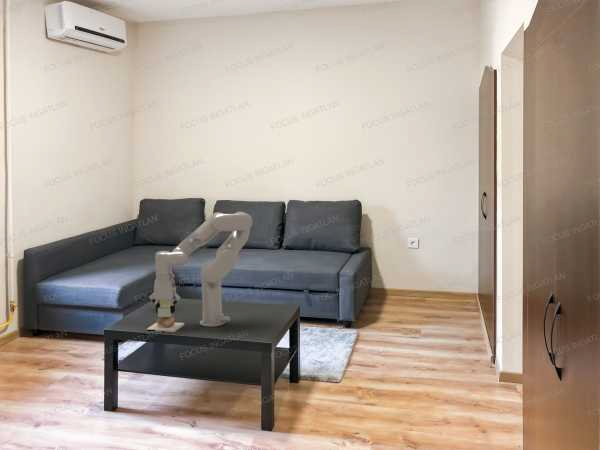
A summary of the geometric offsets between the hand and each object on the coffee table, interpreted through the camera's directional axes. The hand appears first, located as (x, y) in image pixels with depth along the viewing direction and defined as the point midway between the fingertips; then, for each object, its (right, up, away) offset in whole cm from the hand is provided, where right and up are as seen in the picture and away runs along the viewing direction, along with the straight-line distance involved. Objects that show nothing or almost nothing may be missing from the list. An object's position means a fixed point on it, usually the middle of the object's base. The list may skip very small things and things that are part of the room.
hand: (165, 312), depth 274 cm
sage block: (0, -1, 0) cm, 1 cm away
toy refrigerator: (-8, -4, +34) cm, 35 cm away
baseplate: (0, -8, +1) cm, 8 cm away
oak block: (0, -7, +1) cm, 7 cm away
